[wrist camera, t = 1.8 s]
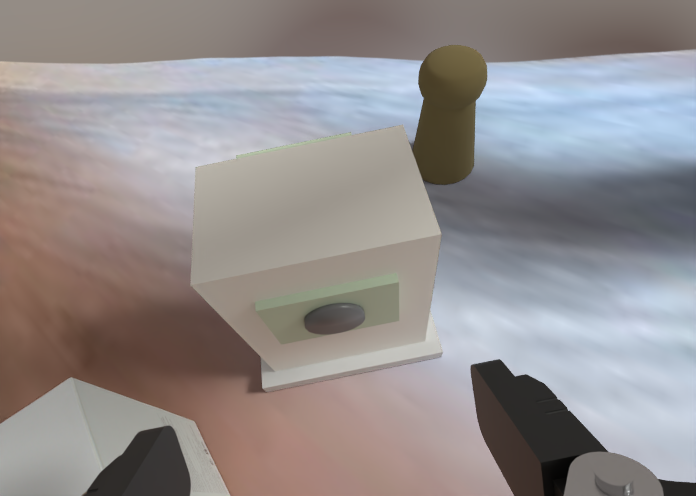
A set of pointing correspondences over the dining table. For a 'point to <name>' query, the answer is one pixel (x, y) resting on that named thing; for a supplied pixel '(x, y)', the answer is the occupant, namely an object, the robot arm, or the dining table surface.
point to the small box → (88, 441)
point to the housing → (320, 256)
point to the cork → (448, 113)
